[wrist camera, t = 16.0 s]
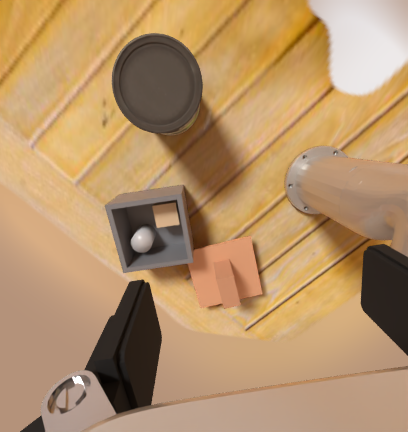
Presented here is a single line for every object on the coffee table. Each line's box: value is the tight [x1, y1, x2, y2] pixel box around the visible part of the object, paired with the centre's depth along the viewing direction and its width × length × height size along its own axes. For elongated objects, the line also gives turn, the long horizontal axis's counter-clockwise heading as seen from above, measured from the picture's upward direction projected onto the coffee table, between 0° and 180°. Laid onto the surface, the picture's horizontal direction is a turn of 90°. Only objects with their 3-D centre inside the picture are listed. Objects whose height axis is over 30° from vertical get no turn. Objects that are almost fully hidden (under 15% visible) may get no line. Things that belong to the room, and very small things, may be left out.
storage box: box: [105, 185, 194, 273], centre depth 44 cm, size 12×12×8 cm
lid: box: [187, 236, 262, 309], centre depth 46 cm, size 13×13×7 cm
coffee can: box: [112, 33, 203, 135], centre depth 35 cm, size 10×10×14 cm
